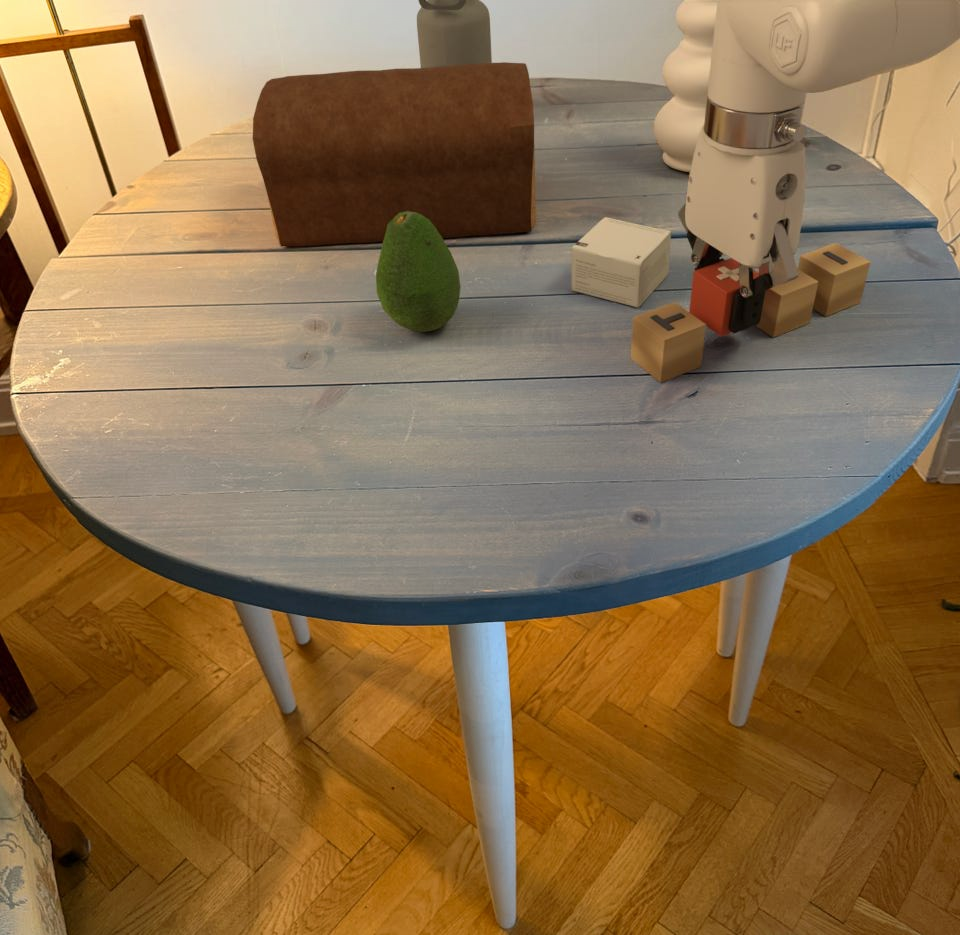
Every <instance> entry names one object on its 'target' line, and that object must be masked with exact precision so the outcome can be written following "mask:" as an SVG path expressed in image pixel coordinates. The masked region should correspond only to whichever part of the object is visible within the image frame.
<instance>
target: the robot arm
mask: <svg viewBox="0 0 960 935" xmlns="http://www.w3.org/2000/svg"><path fill="white" fill-rule="evenodd" d="M959 40H960V0H718V1H717V10H716V19H715V28H714V38H713V47H712V56H711V65H710V74H709V83H708V93H707V103H706V112H705V121H704V125H703V126H702V128H701V131H700V134H699V137H698V141H697V144H696V148H695V152H694V156H693V160H692V165H691V170H690V172H689V176H688V183H687V190H686V197H685V204H683V206H682V207H681V208H680V209H679V211H678V214H677V216H678V219H679V221H680V223H681V225H682V227H683V229H684V231H685V232H686V238H687V241H688V243H689V246H690V248H691V254H690V261H691V264H692V265H693V266H696V267H694V271H696V270H699V269H701V268H704V267H707V266H710V265H713V264H715V263H718V262H721V261H724V260H726V259H725V258H723V254H724V255H726V256H727V257H729V258H732V259H734V260H736V261H737V262H739V286H740V292H737V293H735V294H734V297H733V304H732V311H731V317H730V324H729V330H730V331H731V334H734V335H735V334H737V333H738V334H739V333H740V332H743V331H745V330H748V329H751V328H753V327H757V326H756V325H758V324H759V322H760V319H761V314H762V308H763V302H764V296H765V291H766V290H769V289H771V288H772V287H774V286H776V285H780V284H783V283H786V282H789V281H792V280H794V279H796V278H798V270H797V269H798V266H797V264H796V260H795V257H794V255H795V254H796V252H797V250H798V248H799V241H800V237H801V230H802V223H803V216H804V206H805V197H806V182H807V181H806V180H807V179H806V178H807V158H806V146H805V144H804V143H802V142H801V141H802V140H804V139H805V138H806V135H807V126H806V125H804V124H802V120H803V116H804V110H805V105H806V99H807V94H815V93H817V94H818V93H824V92H828V91H831V90H835V89H837V88H842V87H844V86H848V85H852V84H855V83H860V82H861V81H862V82H863V81H865V80H866V79H869V78H871V77H875V76H879V75H882V74H885V73H889V72H893V71H897V70H900V69H905V68H908V67H911V66H914V65H918V64H921V63H922V62H924V61H927V60H929V59H931V58H933V57H935V56H937V55H939V54H940V53H941V52H943V51H945V50H946V49H948V48H949V47H951V46H952V45H954V44H955V43H956V42H957V41H959ZM773 265H774V269H773ZM754 269H755V270H756V269H758V271H759V277H757V278H755V279H753V270H754Z"/></svg>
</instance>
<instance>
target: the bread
mask: <svg viewBox="0 0 960 935" xmlns="http://www.w3.org/2000/svg"><path fill="white" fill-rule="evenodd" d="M252 144H253V148H254V153H255V154H254V155H255V158H256V159H255V160H256V162H257V165H258V169H259V172H260V173H261V174H260V175H261V176H262V177H261V178H262V181H263V185H264V188H265V192H266V197H267V201H268V206H269V210H270V214H271V219H272V223H273V229H274V233H275V234H274V235H275V238H276V240H277V242H278V244H279V246H280V247H281V248H282V247H309V246H324V245H340V244H355V243H356V244H361V243H365V244H366V243H381V242H382V243H383V240H384V237H385V233H386V229H387V225H388V223H389V222H390V221H391V220H392V219H393V218H394V217H395V216H396V215H397V214H398V213H401V212H406V211H410V212H416V213H419V214H421V215H423V216H424V217H426V218H427V219H429V220H430V221H431V223H432V224H433V225H434V226H435V227H436V229H437V231H438V232H439V234H440V235H441V237H442V239H449V238H459V237H460V238H462V237H472V236H473V237H474V236H488V235H490V236H491V235H506V234H515V233H525V232H526V233H527V232H532V231H533V229H534V226H535V224H536V223H537V211H536V210H537V207H536V206H537V204H536V160H535V159H536V158H535V116H534V101H533V96H532V88H531V79H530V73H529V68H528V66H527V64H526V63H525V62H504V61H503V62H492V63H483V64H472V65H452V66H441V67H430V68H421V67H417V68H414V67H413V68H411V67H410V68H388V69H380V70H379V69H378V70H377V69H375V70H372V69H371V70H351V71H350V70H349V71H338V72H337V71H336V72H329V73H317V74H316V73H313V74H299V75H298V74H297V75H287V76H282V77H275V78H271V79H269V80H267V81H265V83H264V86H263V87H262V89H261V90H260V93H259V96H258V99H257V102H256V106H255V110H254V113H253V117H252Z"/></svg>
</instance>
